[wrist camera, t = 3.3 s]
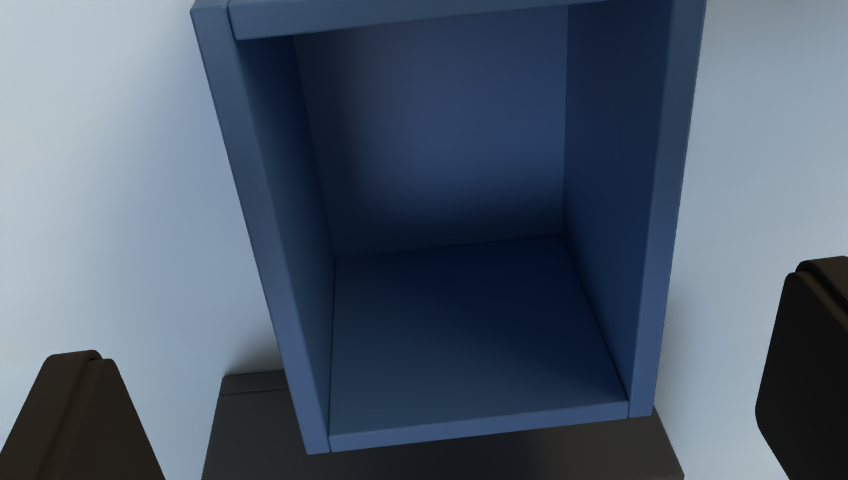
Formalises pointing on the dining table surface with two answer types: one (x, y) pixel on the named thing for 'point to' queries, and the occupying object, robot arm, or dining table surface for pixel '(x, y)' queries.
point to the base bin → (424, 447)
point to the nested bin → (458, 203)
